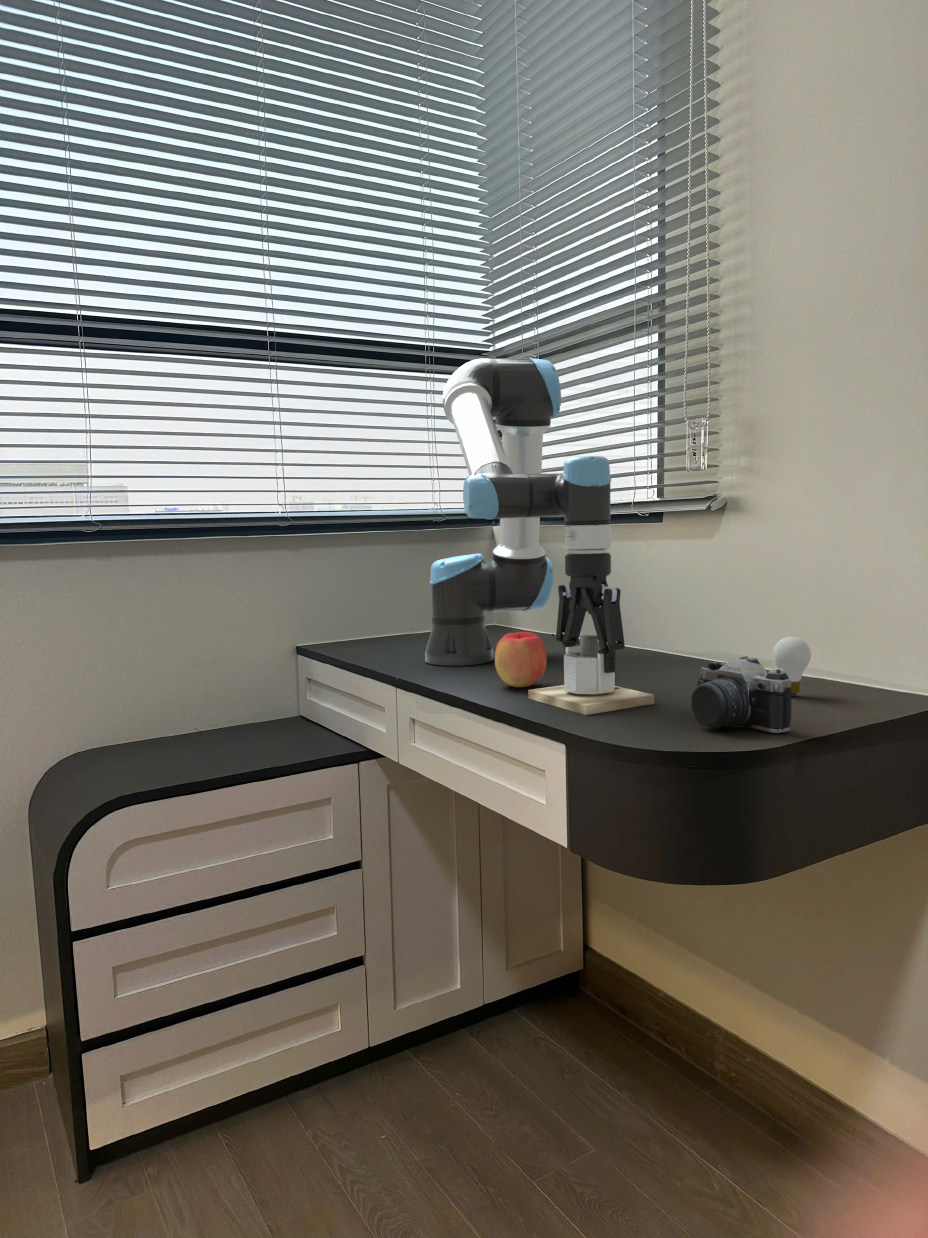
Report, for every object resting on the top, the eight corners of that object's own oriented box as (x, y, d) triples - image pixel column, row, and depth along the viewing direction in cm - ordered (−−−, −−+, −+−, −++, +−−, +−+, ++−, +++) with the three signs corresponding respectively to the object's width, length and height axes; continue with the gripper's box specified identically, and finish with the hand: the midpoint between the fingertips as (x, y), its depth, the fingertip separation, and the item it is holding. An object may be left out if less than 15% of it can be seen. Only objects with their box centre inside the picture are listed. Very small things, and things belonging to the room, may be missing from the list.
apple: (492, 683, 163) (490, 630, 162) (541, 681, 164) (540, 629, 163) (498, 692, 154) (497, 637, 153) (551, 690, 155) (550, 635, 154)
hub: (556, 688, 146) (555, 652, 145) (593, 683, 150) (593, 647, 149) (585, 696, 139) (584, 658, 138) (623, 690, 143) (623, 653, 142)
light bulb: (764, 695, 145) (765, 636, 144) (791, 691, 148) (792, 633, 147) (790, 701, 140) (791, 640, 139) (818, 697, 142) (819, 637, 141)
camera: (665, 722, 129) (664, 655, 128) (715, 713, 134) (715, 649, 133) (746, 743, 115) (747, 669, 114) (799, 732, 120) (800, 661, 119)
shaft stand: (528, 698, 148) (527, 635, 147) (593, 689, 155) (592, 628, 154) (585, 715, 134) (584, 645, 133) (654, 703, 141) (653, 637, 140)
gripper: (533, 551, 149) (535, 681, 151) (610, 553, 131) (611, 700, 133) (568, 550, 153) (570, 676, 155) (648, 551, 135) (648, 695, 137)
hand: (589, 687), depth 144 cm, fingers closed on hub, 8 cm apart
